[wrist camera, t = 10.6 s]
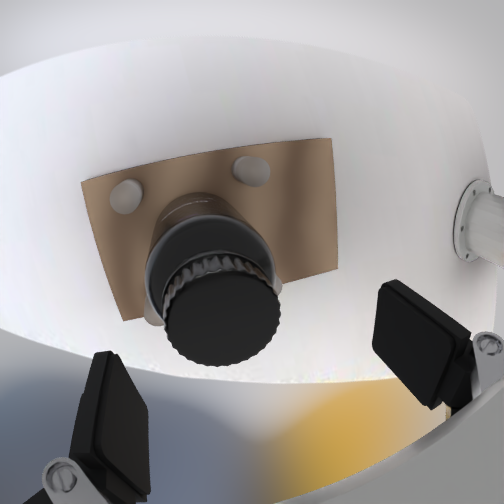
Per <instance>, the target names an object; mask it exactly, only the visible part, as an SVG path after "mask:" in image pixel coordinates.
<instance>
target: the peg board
mask: <svg viewBox="0 0 504 504" xmlns="http://www.w3.org/2000/svg"><path fill="white" fill-rule="evenodd" d="M81 186H82V190H83V195H84V199H85V204H86V208H87V212H88V216H89V220H90V223H91V227H92V231H93V234H94V238H95V241H96V245H97V248H98V251H99V255H100V258H101V261H102V264H103V267H104V270H105V273H106V276H107V279H108V282H109V285H110V288H111V290H112V293H113V296H114V299H115V301H116V304H117V306H118V309H119V312H120V314H121V317H122V319H123V321H127V320H132V319H137V318H141V317H144V318H145V320H146V321H147V322H148V323H149V324H151V325H153V326H162V325H164V322H163V321H162V320H161V319H160V318H159V316H158V315H157V314H156V313H155V311H154V310H153V308H152V306H151V304H150V302H149V300H148V297H147V294H146V290H145V267H146V262H147V257H148V253H149V248H150V244H151V239H152V235H153V231H154V227H155V224H156V221H157V219H158V217H159V215H160V214H161V212H162V211H163V209H164V208H165V207H166V206H167V205H168V204H169V203H170V202H172V201H173V200H174V199H176V198H178V197H180V196H182V195H185V194H188V193H193V192H206V193H211V194H214V195H217V196H219V197H221V198H223V199H224V200H226V201H227V202H228V203H230V204H231V205H232V206H233V207H234V208H235V209H236V210H237V211H238V212H239V213H240V214H241V215H242V216H243V217H244V218H245V219H246V220H247V221H248V222H249V223H250V224H251V225H252V226H253V228H254V229H255V230H256V231H257V232H258V233H259V234H260V235H261V236H262V237H263V239H264V240H265V242H266V243H267V245H268V246H269V248H270V250H271V252H272V255H273V258H274V262H275V267H276V282H275V288H274V290H275V291H276V293H277V295H279V294H280V292H281V290H282V284H284V283H288V282H292V281H295V280H299V279H303V278H306V277H310V276H314V275H317V274H321V273H325V272H328V271H332V270H335V269H338V244H337V211H336V191H335V176H334V162H333V150H332V140H331V138H321V139H307V140H295V141H285V142H275V143H266V144H258V145H250V146H243V147H236V148H229V149H222V150H216V151H210V152H204V153H199V154H193V155H188V156H183V157H178V158H173V159H168V160H163V161H159V162H154V163H150V164H146V165H141V166H137V167H133V168H129V169H125V170H121V171H118V172H114V173H110V174H106V175H103V176H99V177H96V178H92V179H89V180H86V181H83V182H81Z"/></svg>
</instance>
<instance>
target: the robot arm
mask: <svg viewBox="0 0 504 504" xmlns="http://www.w3.org/2000/svg"><path fill="white" fill-rule="evenodd" d="M454 244H455V249H456V252H457V254H458V256H459V257H460V258H461V259H463V260H464V261H467V262H472V261H474V260H476V259H477V258H478V257H481V258H483V259H485V260H487V261H489V262H491V263H493V264H495V265H497V266H499V267H501V268H503V269H504V197H501V196H498V195H495V194H494V191H493V189H492V187H491V185H490V184H489V183H488V182H486V181H483V180H476V181H474V182H473V183H472V184H471V185H469V187H468V188H467V190H466V191H465V193H464V195H463V197H462V199H461V202H460V204H459V207H458V211H457V215H456V220H455V227H454ZM470 336H471V332H470V331H469V330H467V329H466V328H465V327H463V326H462V325H461V324H459V323H458V322H457V321H455V320H454V319H453V318H451V317H450V316H449V315H447V314H446V313H444V312H443V311H442V310H440V309H439V308H438V307H436V306H435V305H433V304H432V303H431V302H429V301H428V300H426V299H425V298H423V297H422V296H421V295H419V294H418V293H416V292H415V291H413V290H412V289H411V288H409V287H408V286H406V285H405V284H403V283H402V282H400V281H399V280H397V279H394V280H392V281H389V282H386V283H383V284H382V286H381V288H380V289H379V291H378V300H377V309H376V318H375V326H374V333H373V340H372V347H373V350H374V352H375V353H376V354H377V355H378V356H379V357H380V358H381V359H382V361H383V362H384V363H385V364H386V365H387V366H388V367H389V368H390V369H391V370H392V372H393V373H394V374H395V375H396V376H397V377H398V378H399V379H400V380H401V381H402V383H403V384H404V385H405V386H406V387H407V388H408V389H409V390H410V391H411V393H412V394H413V395H414V396H415V397H416V398H417V399H418V400H419V402H420V403H421V404H422V405H424V406H428V407H429V409H430V410H433V409H434V408H436V407H437V406H439V405H440V404H441V403H442V401H443V402H444V403H445V404H446V421H445V422H443V423H442V424H441V425H439V426H438V427H437V428H435V429H433V430H432V431H431V432H429V433H428V434H426V435H425V436H423V437H422V438H420V439H418V440H417V441H415V442H414V443H412V444H410V445H409V446H407V447H405V448H404V449H402V450H400V451H399V452H397V453H395V454H393V455H392V456H390V457H388V458H386V459H384V460H382V461H380V462H378V463H377V464H374V465H373V466H371V467H369V468H367V469H364V470H363V471H360V472H358V473H356V474H354V475H352V476H349V477H347V478H345V479H343V480H340V481H338V482H336V483H333V484H330V485H328V486H325V487H323V488H320V489H318V490H315V491H312V492H309V493H306V494H303V495H300V496H297V497H294V498H291V499H288V500H284V501H281V502H277V503H274V504H504V340H503V339H502V338H501V337H500V336H498V335H497V334H494V333H492V332H480V333H478V334H476V335H475V336H474V338H473V341H471V340H470V339H469V338H470ZM149 471H150V470H149V442H148V409H147V406H146V404H145V402H144V401H143V399H142V397H141V396H140V394H139V392H138V390H137V389H136V387H135V385H134V383H133V382H132V380H131V378H130V376H129V374H128V372H127V370H126V368H125V366H124V364H123V363H122V361H121V359H120V357H119V355H118V354H114V353H113V352H112V351H104V352H97V353H95V354H94V357H93V360H92V364H91V367H90V371H89V375H88V379H87V382H86V387H85V390H84V393H83V394H82V396H81V399H80V403H79V407H78V412H77V416H76V421H75V425H74V431H73V435H72V441H71V447H70V453H69V458H64V457H62V458H56V459H54V460H52V461H51V462H49V463H48V464H47V465H46V467H45V469H44V470H43V474H42V483H43V486H44V488H43V489H42V490H40V491H39V492H38V493H36V494H35V495H34V496H32V497H31V498H30V499H28V500H27V501H26V502H24V503H23V504H136V502H147V495H149V494H150V492H151V487H150V472H149Z"/></svg>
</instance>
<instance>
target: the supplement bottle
mask: <svg viewBox="0 0 504 504" xmlns="http://www.w3.org/2000/svg"><path fill="white" fill-rule="evenodd" d="M275 282H276V267H275V262H274V258H273V255H272V252H271V250H270V248H269V246H268V245H267V243H266V242H265V240H264V239H263V237H262V236H261V235H260V234H259V233H258V232H257V231H256V230H255V229H254V228H253V226H252V225H251V224H250V223H249V222H248V221H247V220H246V219H245V218H244V217H243V216H242V215H241V214H240V213H239V212H238V211H237V210H236V209H235V208H234V207H233V206H232V205H231V204H230V203H228V202H227V201H226V200H224V199H223V198H221V197H219V196H217V195H214V194H211V193H206V192H193V193H188V194H185V195H182V196H180V197H178V198H176V199H174V200H173V201H172V202H170V203H169V204H168V205H167V206H166V207H165V208H164V209H163V211H162V212H161V214H160V215H159V217H158V219H157V221H156V224H155V227H154V231H153V235H152V239H151V244H150V248H149V253H148V257H147V262H146V267H145V290H146V294H147V297H148V300H149V302H150V304H151V306H152V308H153V310H154V311H155V313H156V314H157V315H158V316H159V318H160V319H161V320H162V321H163V322H164V330H165V331H166V333H167V339H168V340H169V341H170V342H171V343H172V347H173V348H174V349H176V350H178V353H179V354H180V355H183V356H185V357H186V359H187V360H191V361H194V362H195V363H197V364H203V365H205V366H216V367H219V366H229V365H231V364H238V363H240V362H241V361H245V360H248V359H249V358H250V357H252V356H255V355H257V354H258V352H259V351H261V350H262V349H264V348H265V347H266V345H267V344H268V343H269V342H270V341H271V340H272V336H273V335H274V334H275V333H276V330H277V327H278V325H279V324H280V322H279V318H280V316H281V312H280V310H279V309H280V302H279V300H278V295H277V293H276V291H275V290H274V288H275Z"/></svg>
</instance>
